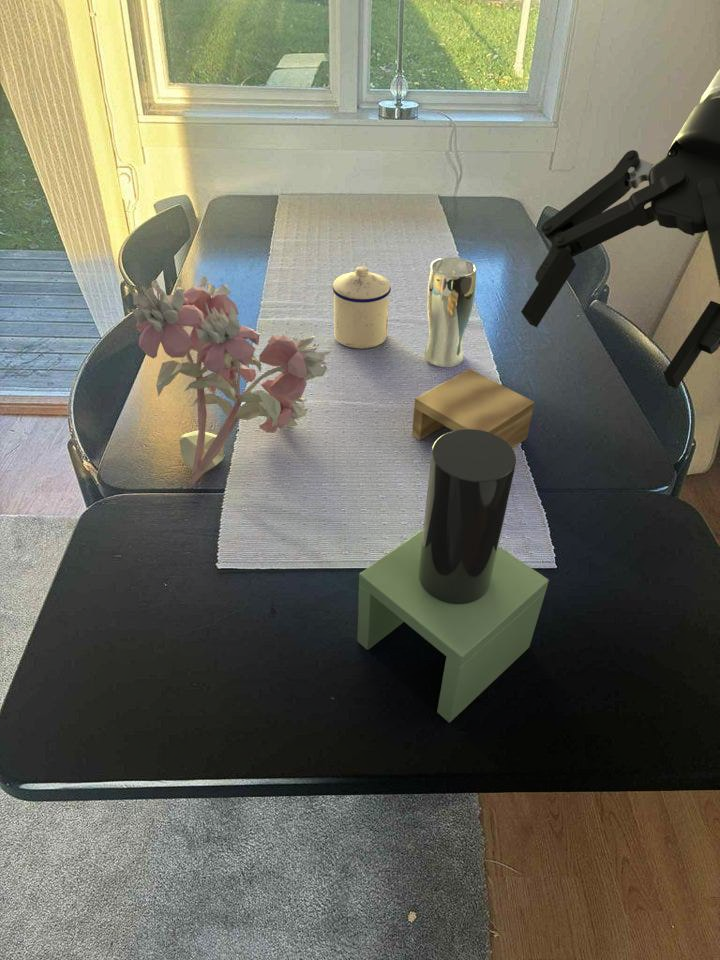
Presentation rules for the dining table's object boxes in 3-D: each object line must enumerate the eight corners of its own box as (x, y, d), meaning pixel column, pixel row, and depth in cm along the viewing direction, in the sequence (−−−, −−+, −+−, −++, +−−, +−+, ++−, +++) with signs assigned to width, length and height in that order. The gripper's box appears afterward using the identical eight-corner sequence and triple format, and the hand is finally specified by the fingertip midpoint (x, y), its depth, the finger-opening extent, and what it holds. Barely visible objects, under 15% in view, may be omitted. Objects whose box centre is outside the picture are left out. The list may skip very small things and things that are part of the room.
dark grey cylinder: (505, 578, 62) (533, 455, 53) (458, 617, 59) (480, 493, 50) (450, 539, 66) (468, 418, 57) (403, 574, 62) (414, 451, 53)
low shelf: (526, 438, 94) (535, 402, 90) (474, 474, 89) (481, 436, 85) (464, 404, 100) (469, 368, 96) (411, 435, 94) (414, 398, 91)
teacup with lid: (399, 339, 114) (403, 271, 106) (354, 356, 110) (355, 286, 102) (356, 311, 121) (357, 245, 114) (312, 325, 117) (310, 258, 109)
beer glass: (417, 348, 112) (424, 257, 102) (458, 344, 113) (470, 255, 103) (428, 371, 107) (436, 278, 97) (471, 367, 108) (484, 275, 98)
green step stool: (529, 647, 69) (549, 579, 62) (449, 723, 62) (462, 657, 56) (438, 578, 75) (447, 511, 69) (357, 641, 69) (358, 573, 62)
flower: (325, 510, 81) (342, 287, 74) (124, 500, 78) (124, 267, 72) (318, 468, 100) (331, 288, 94) (156, 459, 97) (159, 272, 91)
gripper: (595, 66, 61) (464, 279, 63) (917, 126, 47) (738, 395, 49) (612, 123, 67) (492, 315, 69) (900, 190, 54) (742, 426, 55)
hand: (594, 349), depth 59 cm, fingers open, 13 cm apart
